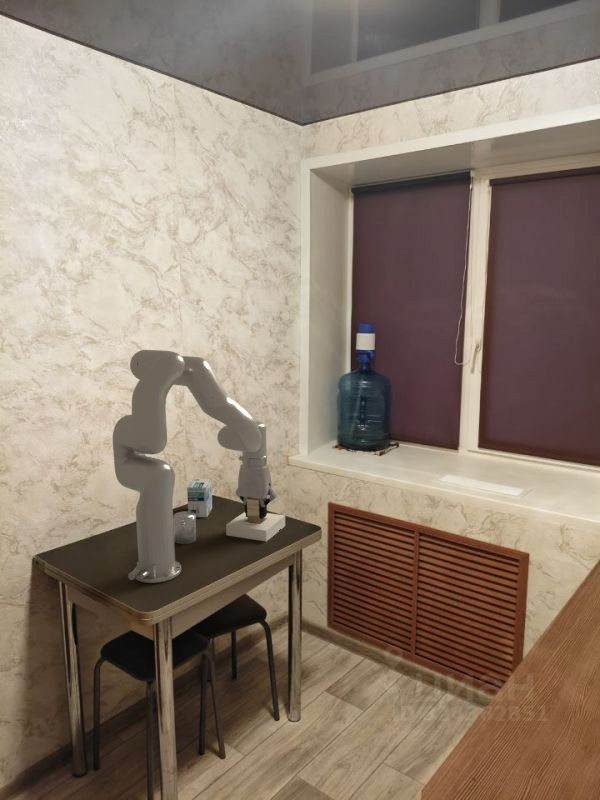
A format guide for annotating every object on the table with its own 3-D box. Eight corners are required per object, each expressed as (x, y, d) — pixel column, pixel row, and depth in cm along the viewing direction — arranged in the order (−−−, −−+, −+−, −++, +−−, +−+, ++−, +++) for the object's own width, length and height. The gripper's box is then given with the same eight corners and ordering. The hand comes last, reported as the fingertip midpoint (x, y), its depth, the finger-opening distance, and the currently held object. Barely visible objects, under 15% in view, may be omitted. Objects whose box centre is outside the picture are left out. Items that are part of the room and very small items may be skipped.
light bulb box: (207, 517, 198) (206, 487, 196) (187, 517, 198) (186, 487, 197) (212, 507, 209) (211, 478, 207) (194, 507, 209) (192, 478, 207)
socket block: (266, 541, 177) (266, 530, 177) (226, 535, 182) (226, 524, 182) (285, 525, 190) (285, 515, 189) (247, 520, 195) (247, 510, 195)
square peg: (259, 531, 183) (258, 500, 182) (247, 529, 185) (246, 499, 183) (264, 526, 187) (263, 496, 186) (253, 525, 189) (252, 495, 187)
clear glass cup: (188, 545, 175) (188, 519, 174) (169, 542, 177) (169, 516, 176) (199, 537, 181) (199, 512, 180) (181, 534, 183) (181, 510, 182)
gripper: (225, 461, 182) (227, 517, 185) (273, 466, 176) (274, 524, 179) (236, 456, 189) (238, 509, 192) (284, 460, 183) (284, 516, 186)
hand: (255, 516), depth 185 cm, fingers open, 4 cm apart
